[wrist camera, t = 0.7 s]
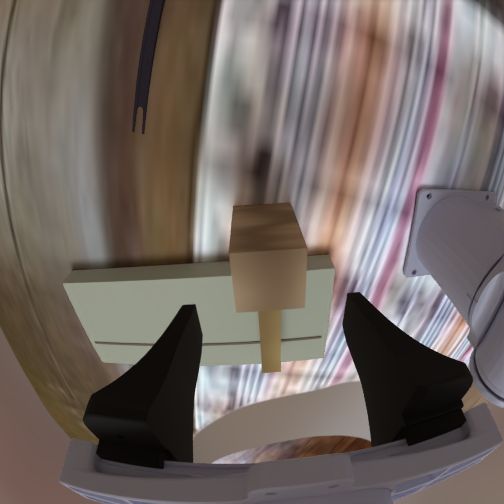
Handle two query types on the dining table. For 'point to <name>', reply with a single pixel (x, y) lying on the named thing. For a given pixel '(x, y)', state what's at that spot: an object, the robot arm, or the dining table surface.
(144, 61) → the bar clamp
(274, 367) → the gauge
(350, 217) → the dining table surface
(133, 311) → the board
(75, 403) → the dining table surface
